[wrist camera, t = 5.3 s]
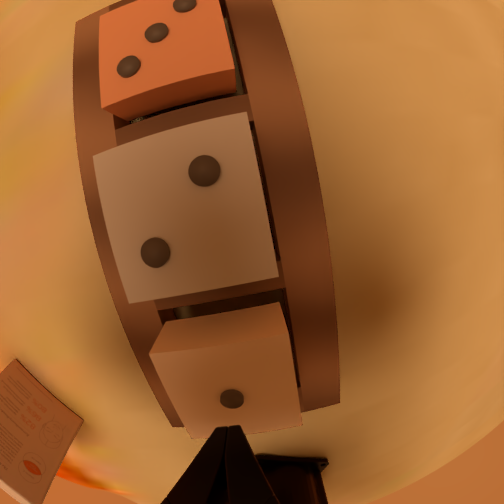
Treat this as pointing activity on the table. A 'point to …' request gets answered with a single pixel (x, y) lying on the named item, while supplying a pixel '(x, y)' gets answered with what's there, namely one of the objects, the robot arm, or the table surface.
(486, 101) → the table surface
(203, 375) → the tile one pip
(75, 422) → the small box
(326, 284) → the tile tray
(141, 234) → the tile two pip
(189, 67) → the tile three pip
